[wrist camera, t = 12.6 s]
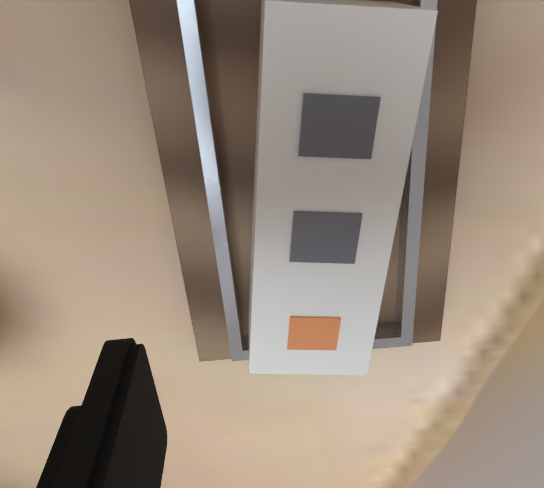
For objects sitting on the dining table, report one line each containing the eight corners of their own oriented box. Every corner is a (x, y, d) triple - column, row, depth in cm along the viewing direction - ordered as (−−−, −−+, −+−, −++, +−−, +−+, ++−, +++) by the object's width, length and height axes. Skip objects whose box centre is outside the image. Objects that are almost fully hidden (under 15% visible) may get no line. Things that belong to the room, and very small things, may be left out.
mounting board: (120, -76, 18) (104, -82, 16) (477, -108, 18) (504, -118, 16) (201, 349, 28) (197, 377, 26) (434, 329, 28) (447, 355, 26)
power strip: (261, -7, 18) (265, 0, 14) (394, 1, 19) (439, 10, 14) (249, 303, 25) (248, 375, 21) (346, 305, 25) (367, 376, 21)
